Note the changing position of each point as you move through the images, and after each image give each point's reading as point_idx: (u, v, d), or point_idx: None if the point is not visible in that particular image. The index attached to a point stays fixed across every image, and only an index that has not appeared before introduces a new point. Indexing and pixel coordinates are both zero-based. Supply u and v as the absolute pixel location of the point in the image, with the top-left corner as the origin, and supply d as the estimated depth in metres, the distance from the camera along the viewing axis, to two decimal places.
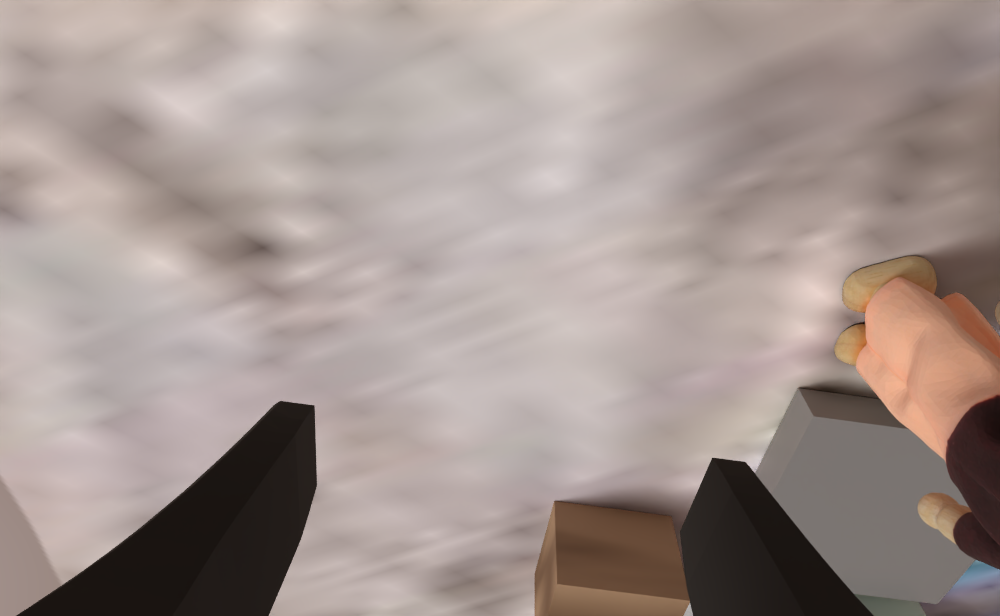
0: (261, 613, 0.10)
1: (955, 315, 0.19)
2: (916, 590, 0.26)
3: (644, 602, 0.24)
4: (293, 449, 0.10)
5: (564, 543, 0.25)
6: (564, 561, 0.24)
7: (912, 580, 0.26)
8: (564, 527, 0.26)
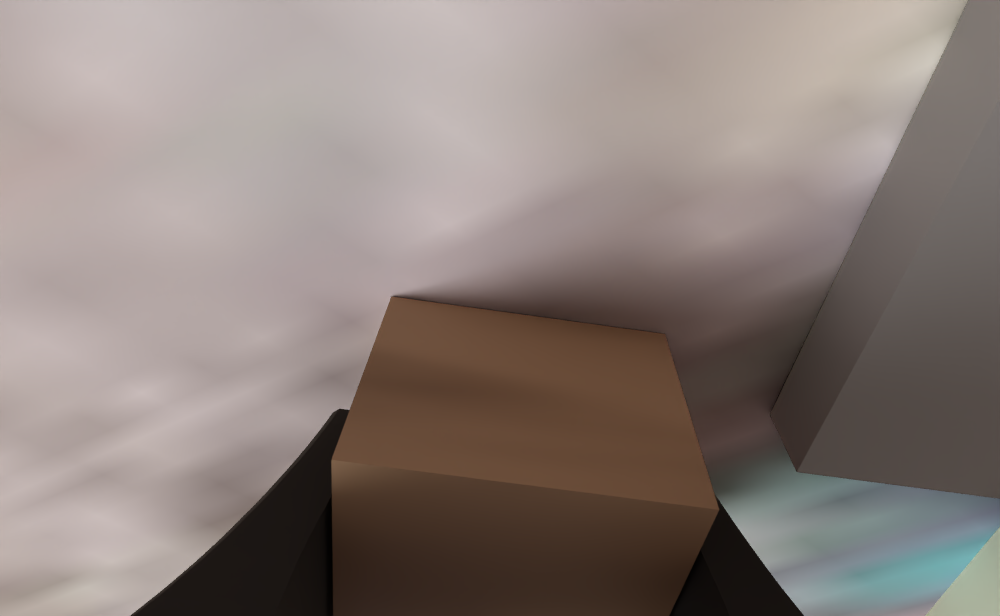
0: None
1: None
2: None
3: (587, 517, 0.08)
4: None
5: (386, 374, 0.10)
6: (373, 410, 0.09)
7: None
8: (398, 345, 0.10)
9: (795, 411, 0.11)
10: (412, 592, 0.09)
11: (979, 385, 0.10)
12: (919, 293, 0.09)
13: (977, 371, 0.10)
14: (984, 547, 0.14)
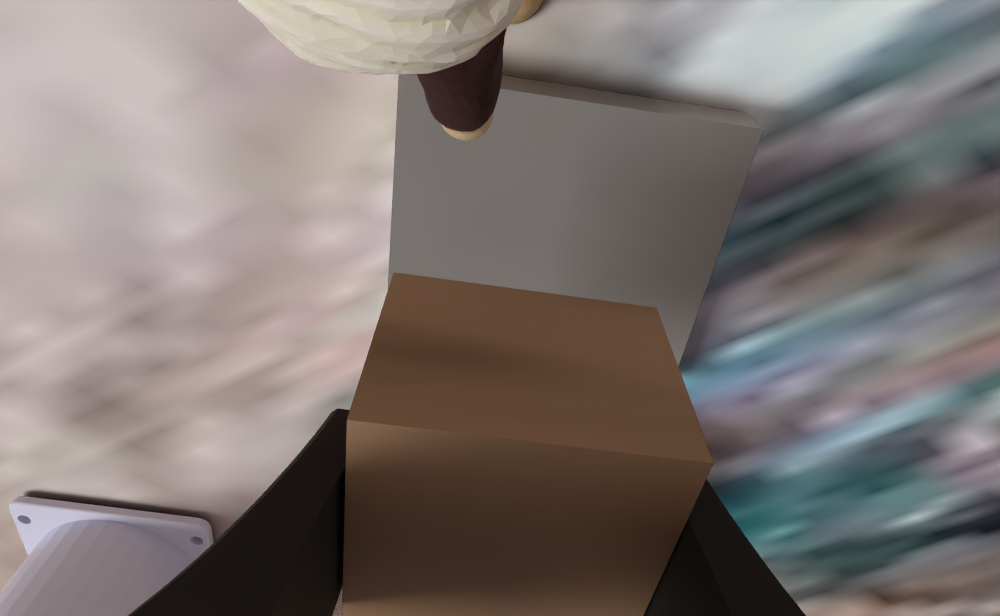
0: None
1: None
2: None
3: (589, 472, 0.09)
4: None
5: (394, 343, 0.10)
6: (383, 375, 0.09)
7: None
8: (403, 316, 0.11)
9: None
10: (421, 551, 0.10)
11: None
12: (401, 266, 0.18)
13: None
14: None
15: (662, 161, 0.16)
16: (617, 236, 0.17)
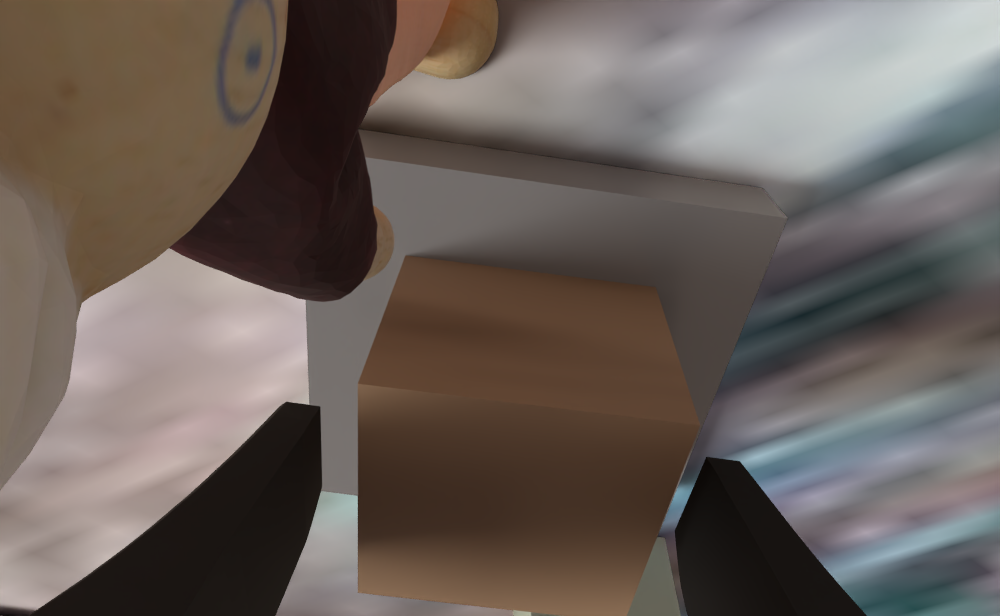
0: (268, 614, 0.10)
1: None
2: None
3: (583, 434, 0.09)
4: (300, 450, 0.10)
5: (403, 317, 0.11)
6: (392, 345, 0.10)
7: None
8: (412, 294, 0.11)
9: None
10: (429, 511, 0.11)
11: None
12: (324, 377, 0.14)
13: None
14: None
15: (653, 257, 0.12)
16: None
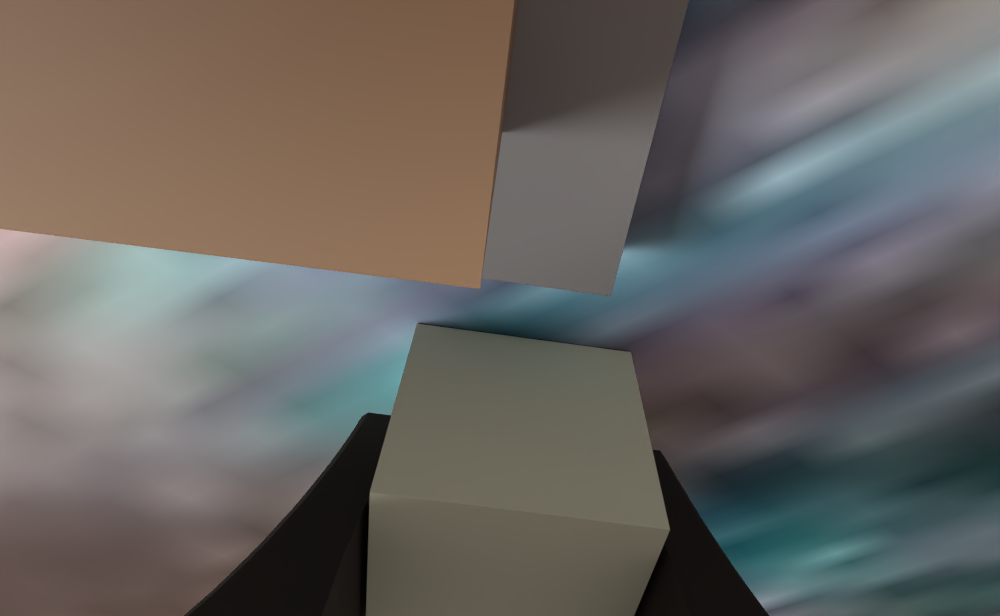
0: None
1: None
2: (534, 241, 0.09)
3: None
4: None
5: None
6: None
7: (508, 198, 0.09)
8: None
9: None
10: None
11: None
12: None
13: None
14: None
15: None
16: None
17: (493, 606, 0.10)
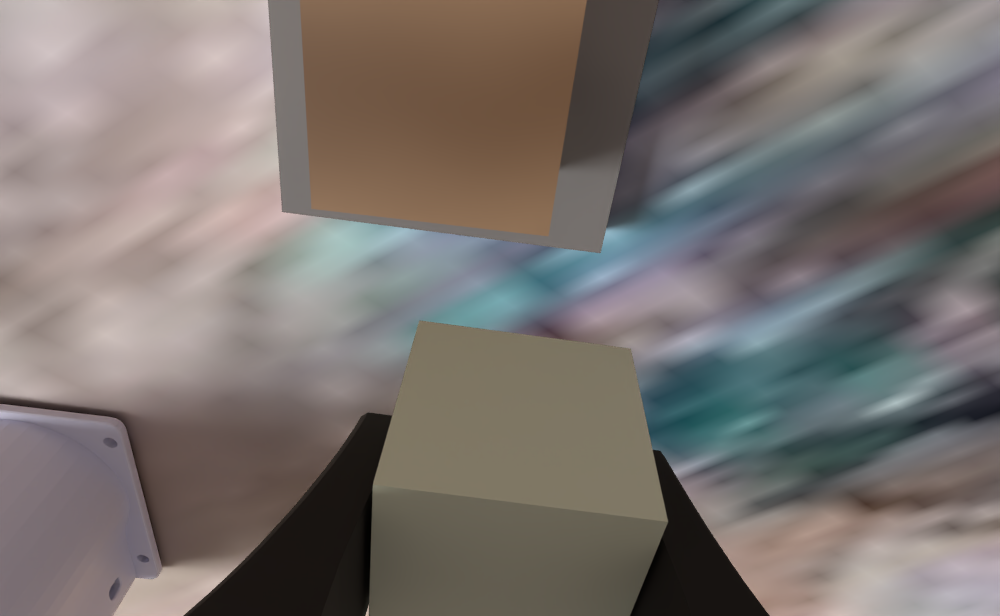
0: None
1: None
2: (560, 224, 0.18)
3: None
4: None
5: None
6: None
7: None
8: None
9: None
10: (367, 96, 0.12)
11: None
12: (287, 74, 0.16)
13: None
14: None
15: None
16: None
17: (494, 598, 0.10)
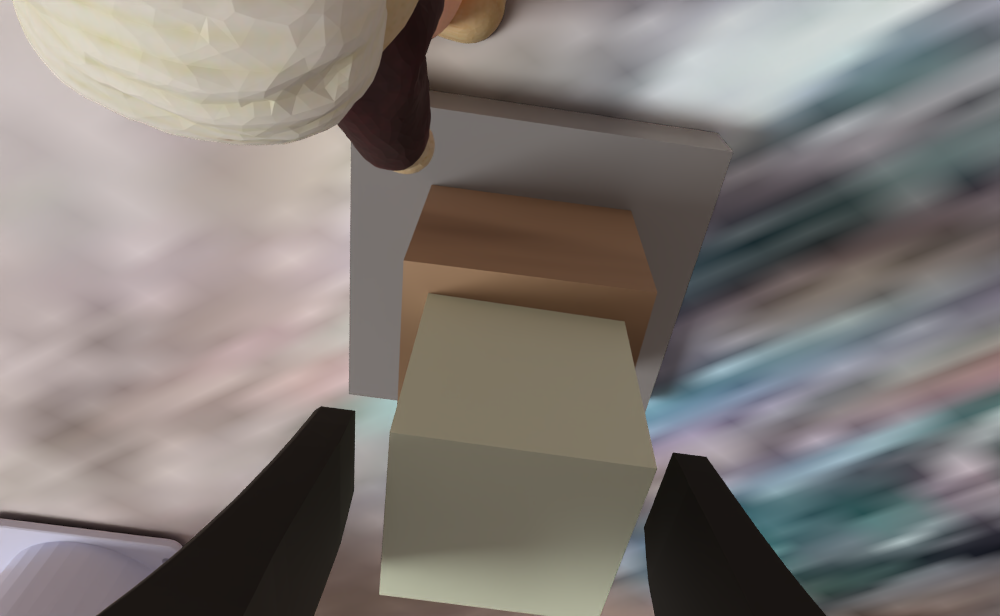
0: None
1: None
2: None
3: (571, 301, 0.13)
4: (338, 455, 0.10)
5: (433, 223, 0.14)
6: (427, 239, 0.13)
7: None
8: (439, 209, 0.15)
9: None
10: None
11: None
12: (362, 291, 0.17)
13: None
14: None
15: (628, 185, 0.16)
16: None
17: (498, 542, 0.11)
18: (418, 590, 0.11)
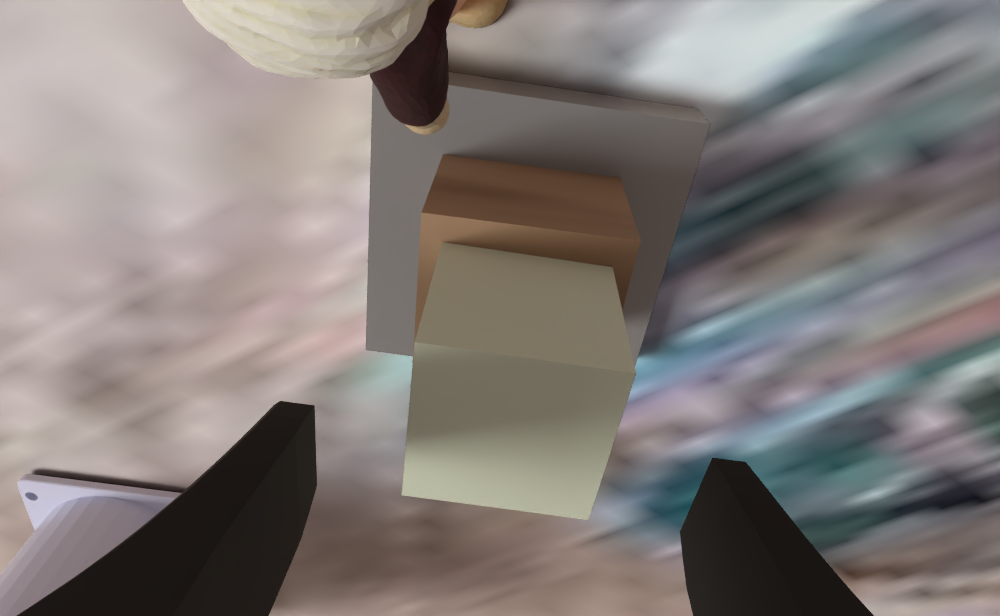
0: (261, 613, 0.10)
1: None
2: None
3: (566, 249, 0.15)
4: (293, 449, 0.10)
5: (446, 184, 0.16)
6: (440, 197, 0.15)
7: None
8: (450, 174, 0.16)
9: None
10: None
11: None
12: (379, 253, 0.19)
13: None
14: None
15: (617, 155, 0.17)
16: None
17: (503, 443, 0.12)
18: (435, 490, 0.13)
